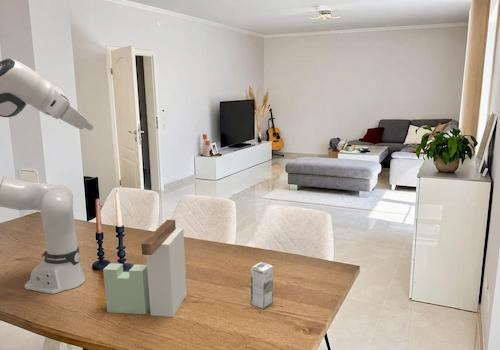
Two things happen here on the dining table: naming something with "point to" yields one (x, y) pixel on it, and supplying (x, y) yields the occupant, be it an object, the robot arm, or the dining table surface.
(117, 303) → the sage notched plate
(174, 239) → the white stand
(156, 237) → the walnut bar
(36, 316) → the dining table surface
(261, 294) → the syrup box
